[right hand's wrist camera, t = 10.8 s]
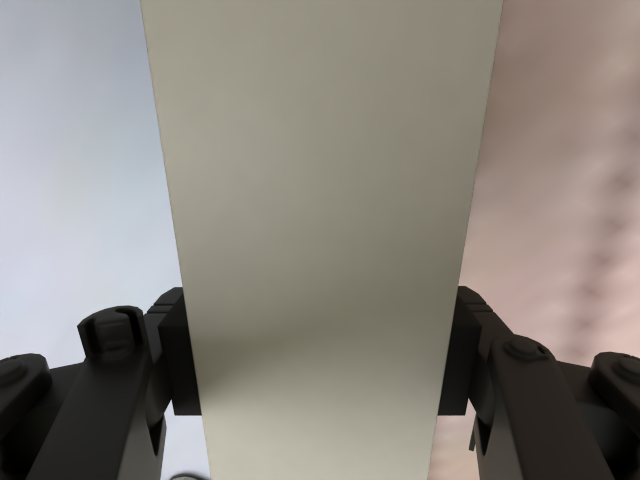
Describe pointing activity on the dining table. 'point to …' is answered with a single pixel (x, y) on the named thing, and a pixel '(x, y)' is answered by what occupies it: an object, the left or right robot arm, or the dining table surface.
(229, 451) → the post
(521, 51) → the dining table surface
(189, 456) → the dining table surface
